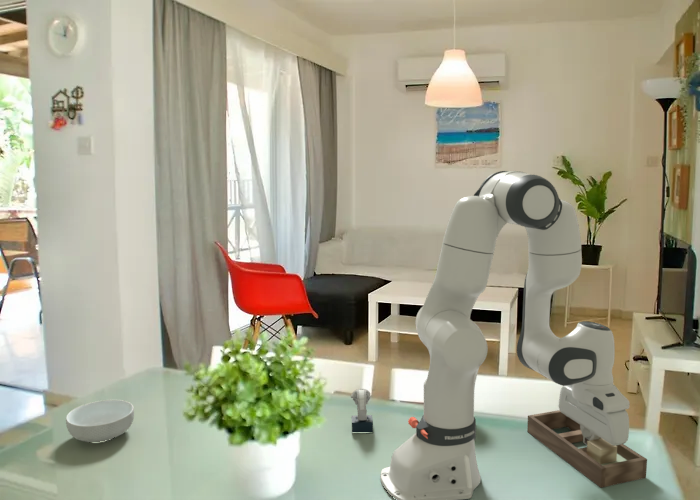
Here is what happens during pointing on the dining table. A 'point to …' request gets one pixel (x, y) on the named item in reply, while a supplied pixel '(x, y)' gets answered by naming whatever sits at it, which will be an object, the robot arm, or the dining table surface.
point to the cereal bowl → (100, 420)
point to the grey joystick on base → (361, 412)
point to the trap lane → (585, 451)
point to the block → (601, 451)
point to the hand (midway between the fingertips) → (590, 445)
